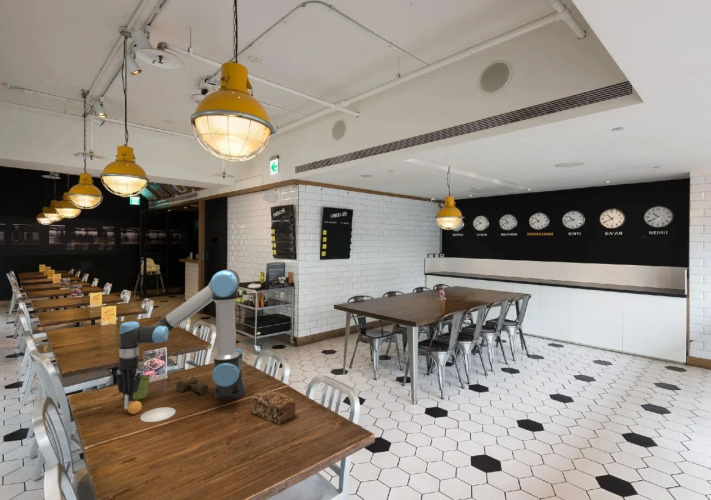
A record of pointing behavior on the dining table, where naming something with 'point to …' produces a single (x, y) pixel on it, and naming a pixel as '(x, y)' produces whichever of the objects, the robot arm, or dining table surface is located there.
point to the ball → (134, 407)
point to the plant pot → (142, 388)
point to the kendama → (194, 384)
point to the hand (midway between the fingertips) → (128, 407)
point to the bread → (273, 406)
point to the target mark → (157, 414)
